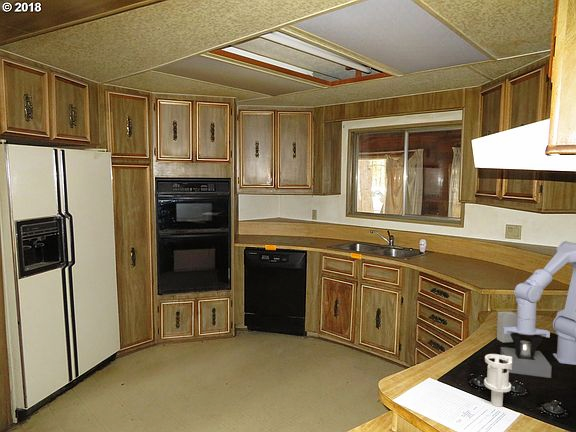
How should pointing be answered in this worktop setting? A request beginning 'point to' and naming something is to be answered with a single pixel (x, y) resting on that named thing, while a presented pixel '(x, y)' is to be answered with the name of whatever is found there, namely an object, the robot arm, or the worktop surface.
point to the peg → (525, 350)
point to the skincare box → (505, 325)
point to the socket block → (528, 363)
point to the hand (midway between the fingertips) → (524, 354)
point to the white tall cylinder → (497, 377)
